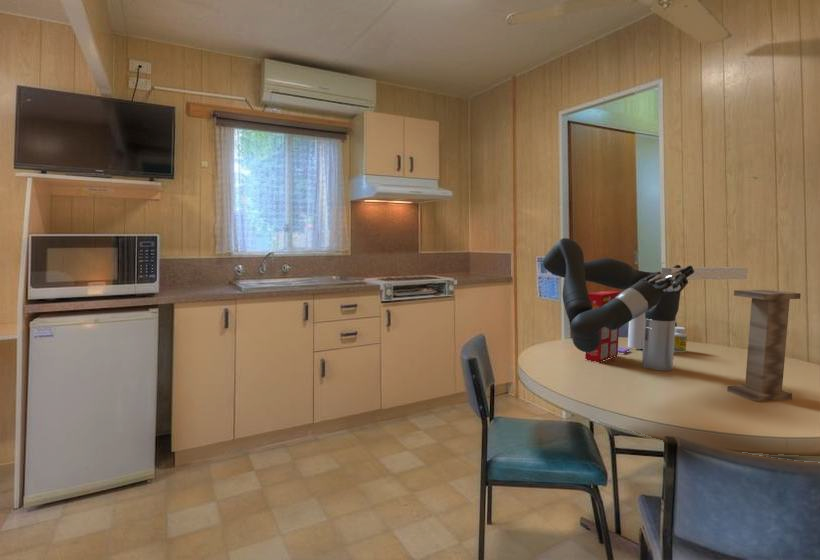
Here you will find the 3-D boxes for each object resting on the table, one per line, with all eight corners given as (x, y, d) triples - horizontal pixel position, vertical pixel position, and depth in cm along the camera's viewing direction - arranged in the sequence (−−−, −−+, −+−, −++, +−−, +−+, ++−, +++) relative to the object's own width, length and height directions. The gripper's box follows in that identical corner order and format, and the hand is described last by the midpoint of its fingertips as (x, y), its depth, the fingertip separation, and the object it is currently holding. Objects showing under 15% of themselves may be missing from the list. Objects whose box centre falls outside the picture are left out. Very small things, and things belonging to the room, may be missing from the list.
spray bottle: (644, 351, 176) (647, 289, 174) (626, 348, 181) (629, 288, 178) (647, 347, 182) (650, 288, 180) (629, 345, 186) (632, 287, 184)
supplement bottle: (675, 348, 180) (677, 325, 180) (688, 351, 176) (690, 328, 175) (667, 350, 178) (668, 327, 177) (680, 353, 173) (681, 329, 172)
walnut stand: (756, 401, 121) (764, 294, 118) (727, 390, 130) (734, 290, 127) (791, 398, 123) (800, 293, 121) (760, 388, 132) (768, 289, 129)
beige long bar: (671, 279, 116) (671, 268, 115) (661, 278, 119) (661, 267, 119) (747, 279, 120) (747, 268, 120) (735, 277, 124) (736, 267, 123)
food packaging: (604, 353, 172) (606, 290, 170) (617, 356, 168) (620, 291, 166) (585, 360, 163) (588, 293, 161) (599, 363, 159) (602, 294, 157)
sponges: (622, 355, 171) (623, 351, 171) (591, 349, 180) (591, 345, 180) (630, 352, 176) (630, 348, 176) (599, 347, 185) (599, 342, 185)
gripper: (623, 308, 124) (671, 277, 126) (660, 317, 110) (713, 282, 112) (612, 286, 123) (661, 255, 125) (649, 291, 109) (702, 257, 111)
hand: (685, 268), depth 118 cm, fingers closed on beige long bar, 3 cm apart
